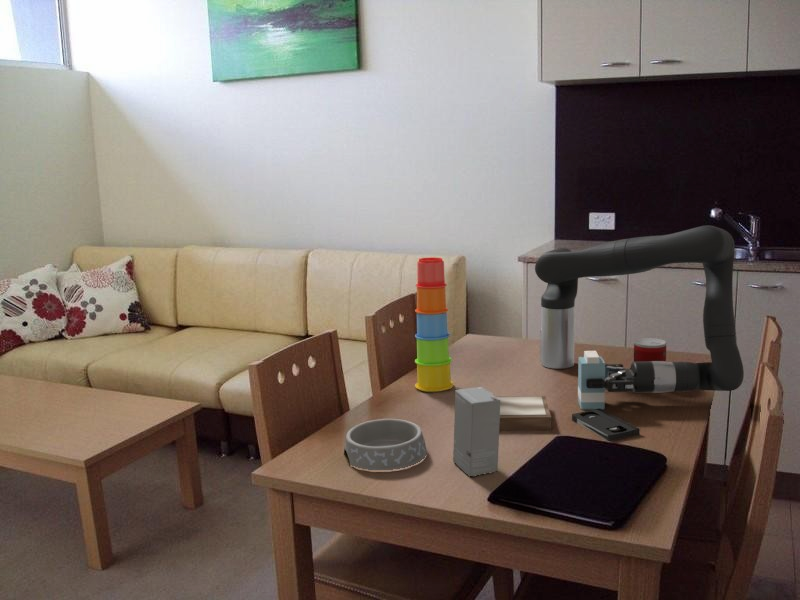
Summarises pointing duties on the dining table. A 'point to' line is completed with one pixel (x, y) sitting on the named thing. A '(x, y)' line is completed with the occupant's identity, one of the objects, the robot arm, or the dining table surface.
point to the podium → (524, 413)
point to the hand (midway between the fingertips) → (584, 377)
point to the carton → (590, 369)
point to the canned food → (649, 349)
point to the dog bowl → (385, 444)
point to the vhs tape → (605, 424)
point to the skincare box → (476, 431)
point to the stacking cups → (432, 327)
